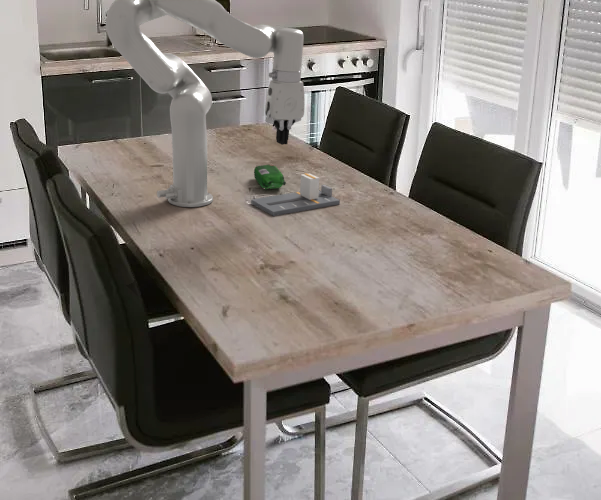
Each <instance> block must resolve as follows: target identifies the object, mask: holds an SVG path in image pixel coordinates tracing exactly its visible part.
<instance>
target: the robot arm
mask: <svg viewBox="0 0 601 500" xmlns="http://www.w3.org/2000/svg"><path fill="white" fill-rule="evenodd" d="M165 16H169V17H171V18H173V19H176V20H177V21H179V22H182V23H185V24H186V25H188V26H191V27H193V28H195V29H196V30H199V31H201V32H203V33H205V34H206V35H208V36H209V37H211V38H213V39H215V40H216V41H218V42H219V43H221V44H222V45H225V46H226V47H227V48H230V49H232V50H234V51H236V52H238V53H240V54H242V55H245V56H248V58H249V57H250V58H253V59H254V58H255V59H260V58H263V57H266V56H267V55H268V54H269V53H273V63H272V64H273V65H272V69H271V70H272V71H271V72H269V73H268V77H269V78H271V80H270V81H269V84H268V88H267V92H266V99H265V100H266V101H265V105H264V106H265V109H264V111H265V116H266V117H265V123H266V124H267V123H268V124H270V125H273V126H274V128H275V129H276V131H275V132H276V135H275V140H276V143H277V144H280V145H288V141H289V134H290V130H291V129H292V127H293V126H294V124H295V123H299V122H301V121H302V118H303V117H304V115H305V105H306V104H305V88H304V86H305V85H304V82H303V81H301V79H302V78H301V76H302V63H303V54H304V53H303V52H304V51H303V50H304V40H305V39H304V37H305V36H304V33H303V31H302V30H300V29H298V28H292V27H277V26H272V25H268V24H261V23H260V24H255V25H254V26H253V25H251V24H249V23H247V22H245V21H242V20H241V19H238V18H236V17H235V16H234V15H232V13H229V12H228V11H227V9H225V8H224V6H223V5H222V4H221V3H220V2H218V1H217V0H114V1H113V3H112V4H111V5H110V7H109V8H108V10H107V14H106V18H105V29H106V33H107V37H108V39H109V41H110V42H111V44H112V45H113V47H114V49H116V50H117V52H118V53H120V55H121V56H122V57H123V59H125V60H126V61H127V63H128V64H129V65H130V66H131V68H133V70H134V71H135V72H136V74H138V75H139V76H140V78H141V79H142V80H143V81H144V82H145V84H147V85H148V86H149V88H150V89H151V90H152V91H154V92H155V93H158V94H160V95H161V94H168V95H169V96H170V98H171V97H172V99H171V101H170V102H171V103H170V106H169V117H170V118H169V119H170V127H171V145H172V146H171V148H172V184H170V185H169V187H168V188H167V189H161V190H160V189H159V190H157V191H156V195H157V198H158V199H159V198H165V199H167V202H169V204H171V205H174V206H177V207H181V208H182V207H183V208H197V207H204V206H207V205H210V204H211V203H212V202H213V200H214V197H213V196H214V195H212V194H211V193H210V192H208V132H207V131H208V130H207V119H206V118H207V114H208V113H209V112H210V111H209V110H211V107H212V104H213V97H212V93H211V91H210V90H209V88H208V87H207V85H205V83H204V82H203V81H202V80H201V79H200V77H199V76H198V75H197V74H196V73H195V72H194V71H193V69H192V68H191V67H190V66H189V65H188V64H187V63H186V62H185V61H184V60H183V59H182V58H180V56H177V55H176V54H173V53H167V52H166V53H163V52H162V51H161V50H160V49H159V48H158V47H157V45H156V44H155V43H154V42H153V41H152V40H151V38H149V37H148V36H147V35H145V33H143V31H142V29H141V28H140V25H143V24H145V23H149V22H151V21H153V20H156V19H160V18H162V17H165Z"/></svg>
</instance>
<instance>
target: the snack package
mask: <svg viewBox="0 0 601 500" xmlns="http://www.w3.org/2000/svg"><path fill="white" fill-rule="evenodd" d="M253 175H254V179H255V180H256V182H257V183H258V185H259V186H260V187H261V188H262V189H263V188H265V189H264V190H271V189H273V190H274V189H280V188H282V187H283V186H286V184H287V183H286V182H287V181H285V177H284V175H283V173H282V172H281V171H280V169H278V167H277V166H276V165H274V164H263V165H262V164H261V165H257V166H255V167H254V170H253ZM267 188H268V189H267ZM269 188H270V189H269Z"/></svg>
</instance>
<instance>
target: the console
mask: <svg viewBox="0 0 601 500" xmlns="http://www.w3.org/2000/svg"><path fill="white" fill-rule="evenodd" d="M320 188H321V189H319V198H317V199H311V200H309V199H307V198H305V197H303V196H301V195H300V191H295V192H294V191H293V192H289V193H283V194H278V195H271V196H270V195H269V196H265V197H264V196H263V197H258V198H254V199H253V198H252V199H250V201H251V202H250V203H251V205H252V206H253V205H254V207H257V208H258V209H260V210H262V211H264V212H266V213H268V214H269V215H271V216H272V217H275V216H280V215H286V214H287V215H288V214H292V213H293V214H294V213H298V212H299V213H300V212H304V211H311V210H315V209H322V208H326V207H333V206H337V205H340V204H341V199H338V198H336V197H334V196H333V188H332V187H331V186H328V185H326V184H321V187H320Z"/></svg>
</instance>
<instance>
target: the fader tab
mask: <svg viewBox="0 0 601 500" xmlns="http://www.w3.org/2000/svg"><path fill="white" fill-rule="evenodd" d="M299 185H300V187H299V192H300V195H301V196H303V197H305V198H307V199H309V200H311V199H317V198H319V190H320V177H319V176H316V175H314V174H312V173H310V172H309V173H306V172H305V173H304V174H303V173H302V174H300V184H299Z"/></svg>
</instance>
